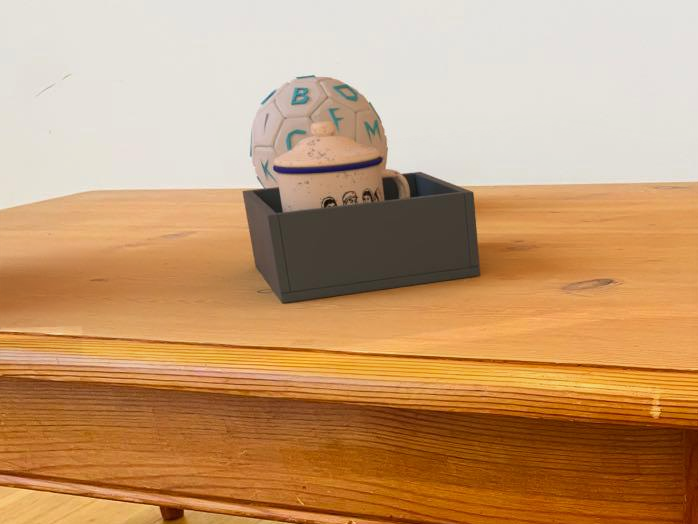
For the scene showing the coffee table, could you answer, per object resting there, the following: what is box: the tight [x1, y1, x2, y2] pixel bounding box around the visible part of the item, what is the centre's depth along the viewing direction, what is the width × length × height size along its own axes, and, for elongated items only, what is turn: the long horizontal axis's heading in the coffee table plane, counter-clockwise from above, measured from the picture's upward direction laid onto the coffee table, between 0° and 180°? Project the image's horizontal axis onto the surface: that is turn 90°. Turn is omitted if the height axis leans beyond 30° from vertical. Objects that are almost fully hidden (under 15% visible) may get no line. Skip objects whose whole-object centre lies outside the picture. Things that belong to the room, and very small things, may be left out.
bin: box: [242, 171, 481, 304], centre depth 93 cm, size 17×17×7 cm
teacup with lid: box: [273, 122, 410, 212], centre depth 92 cm, size 12×9×12 cm
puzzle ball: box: [249, 74, 389, 189], centre depth 120 cm, size 15×15×15 cm
